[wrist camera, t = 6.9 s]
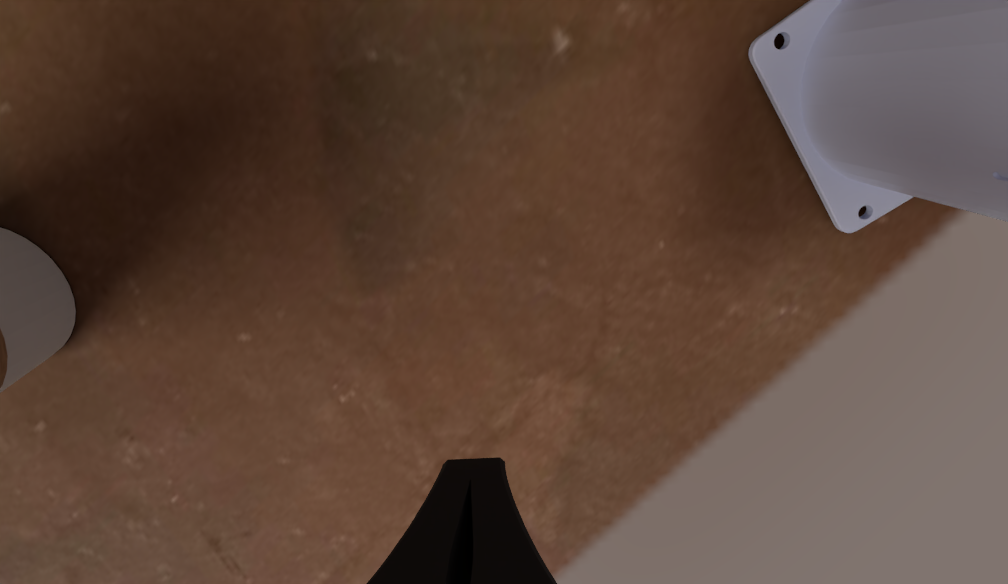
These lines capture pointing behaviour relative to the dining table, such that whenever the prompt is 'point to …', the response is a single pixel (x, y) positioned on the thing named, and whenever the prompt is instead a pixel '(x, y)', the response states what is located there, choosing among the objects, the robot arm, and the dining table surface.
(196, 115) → the dining table surface
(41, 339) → the coffee cup
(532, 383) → the dining table surface
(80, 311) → the dining table surface
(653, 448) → the dining table surface
